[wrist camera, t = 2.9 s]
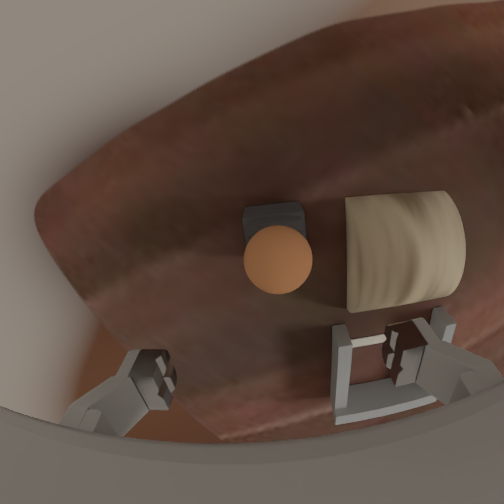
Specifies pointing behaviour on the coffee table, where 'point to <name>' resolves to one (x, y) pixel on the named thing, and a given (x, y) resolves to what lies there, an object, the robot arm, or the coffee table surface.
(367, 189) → the coffee table surface
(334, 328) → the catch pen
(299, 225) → the cube with raised frame
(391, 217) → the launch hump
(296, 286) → the ball
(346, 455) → the robot arm
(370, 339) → the line
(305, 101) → the coffee table surface
